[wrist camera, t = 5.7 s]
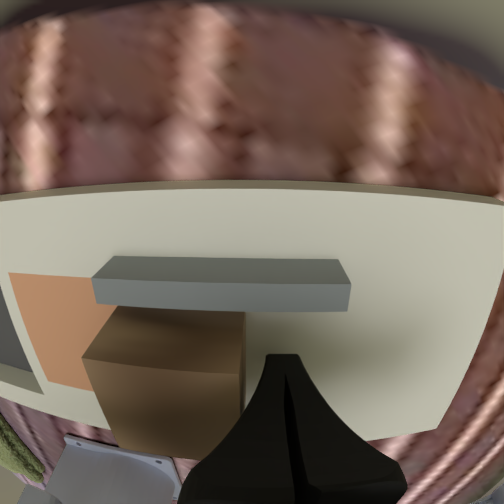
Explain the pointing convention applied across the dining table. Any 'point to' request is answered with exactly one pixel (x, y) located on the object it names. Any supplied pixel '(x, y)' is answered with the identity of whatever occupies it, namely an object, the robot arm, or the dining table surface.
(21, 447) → the washcloth
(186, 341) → the walnut block
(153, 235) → the board
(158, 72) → the dining table surface
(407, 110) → the dining table surface
